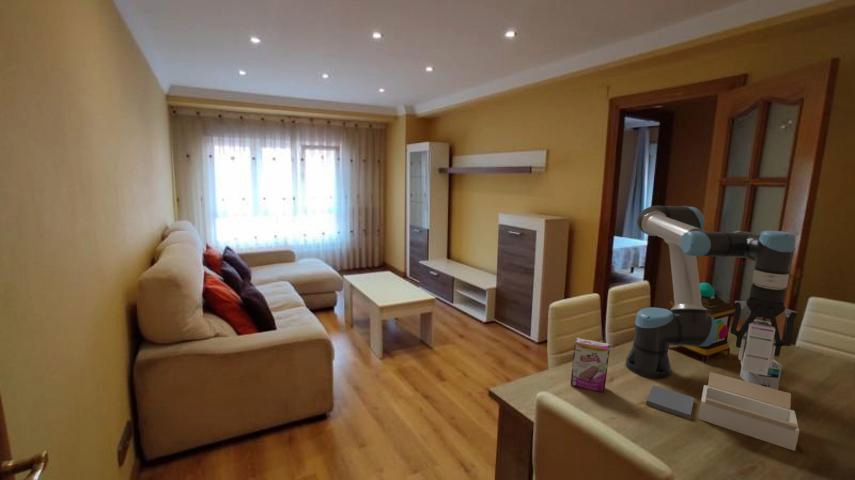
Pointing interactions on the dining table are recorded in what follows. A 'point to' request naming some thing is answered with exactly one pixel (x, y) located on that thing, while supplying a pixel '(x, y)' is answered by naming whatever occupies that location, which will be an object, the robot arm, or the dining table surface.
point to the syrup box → (758, 347)
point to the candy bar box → (590, 364)
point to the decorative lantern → (722, 317)
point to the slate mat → (670, 401)
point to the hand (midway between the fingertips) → (754, 361)
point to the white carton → (750, 410)
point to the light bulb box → (767, 381)
